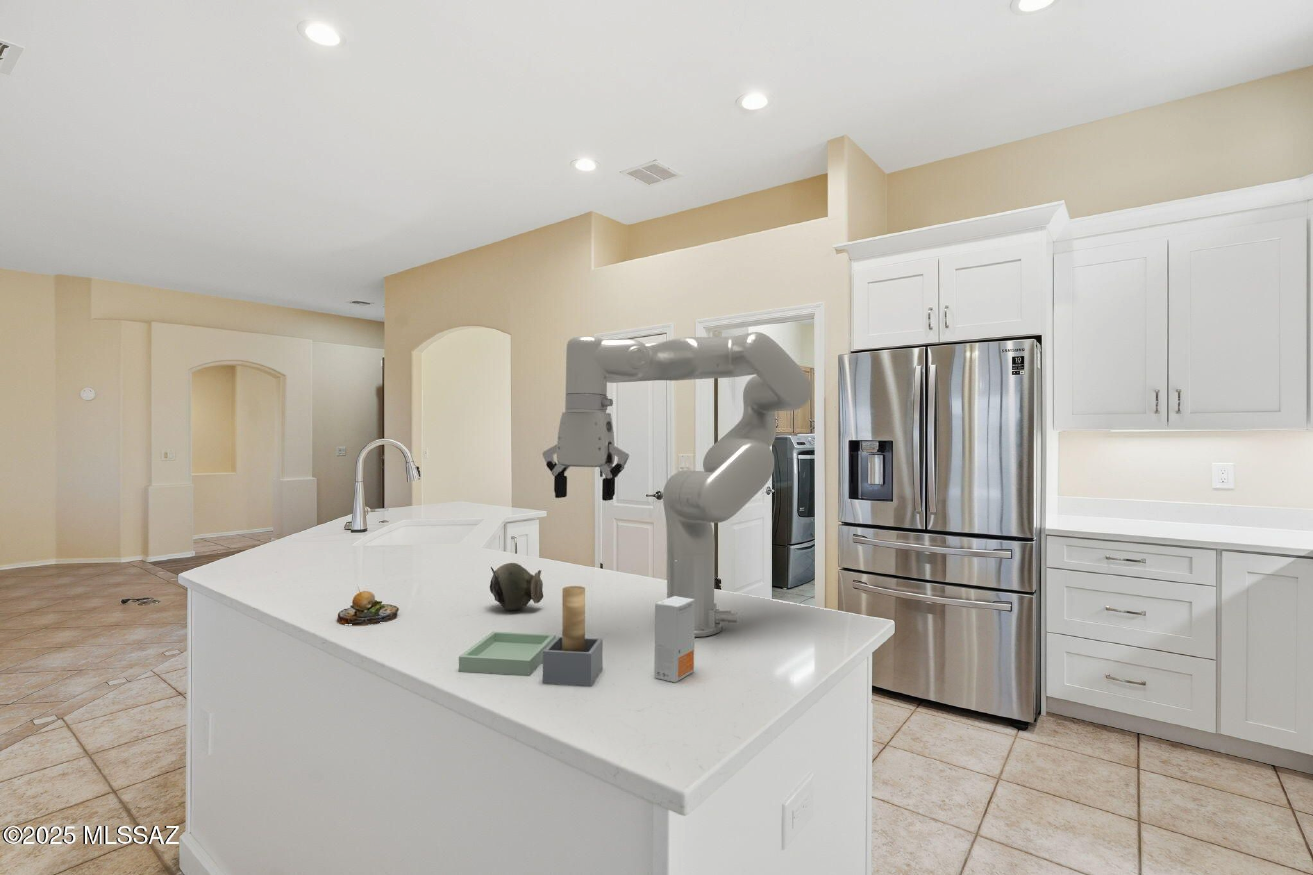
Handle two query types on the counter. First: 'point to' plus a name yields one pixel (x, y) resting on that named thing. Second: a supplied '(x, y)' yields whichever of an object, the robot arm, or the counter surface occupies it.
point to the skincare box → (674, 638)
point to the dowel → (573, 619)
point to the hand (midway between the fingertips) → (583, 498)
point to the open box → (572, 663)
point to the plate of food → (367, 611)
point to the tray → (506, 653)
